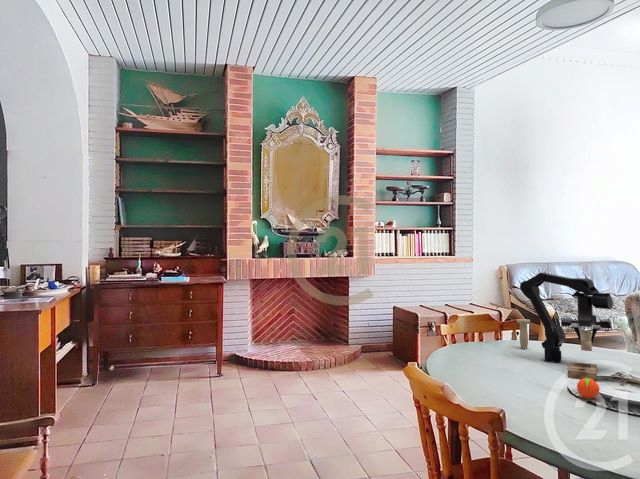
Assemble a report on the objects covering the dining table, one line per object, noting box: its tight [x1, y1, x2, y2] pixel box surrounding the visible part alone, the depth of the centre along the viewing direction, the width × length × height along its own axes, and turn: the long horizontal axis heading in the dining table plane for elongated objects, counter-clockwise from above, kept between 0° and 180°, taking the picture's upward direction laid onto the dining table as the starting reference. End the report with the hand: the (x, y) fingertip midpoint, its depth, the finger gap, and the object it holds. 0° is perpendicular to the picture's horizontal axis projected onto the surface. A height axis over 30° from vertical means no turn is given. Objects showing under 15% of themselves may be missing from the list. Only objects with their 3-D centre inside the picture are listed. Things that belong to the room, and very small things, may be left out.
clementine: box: [576, 378, 600, 399], centre depth 165 cm, size 8×7×7 cm
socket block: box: [567, 361, 598, 381], centre depth 194 cm, size 10×15×3 cm, turn 148°
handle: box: [516, 318, 531, 349], centre depth 242 cm, size 5×6×15 cm
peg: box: [580, 330, 593, 352], centre depth 206 cm, size 4×4×8 cm
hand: (586, 342), depth 206 cm, fingers closed on peg, 4 cm apart
